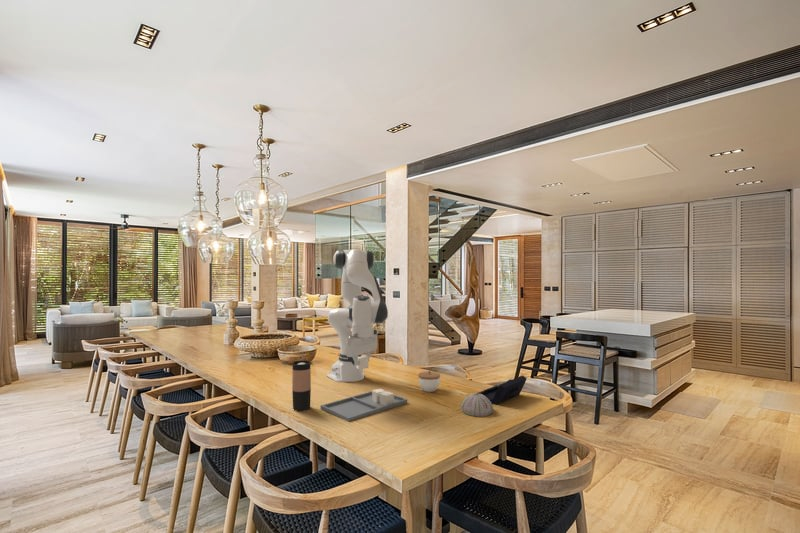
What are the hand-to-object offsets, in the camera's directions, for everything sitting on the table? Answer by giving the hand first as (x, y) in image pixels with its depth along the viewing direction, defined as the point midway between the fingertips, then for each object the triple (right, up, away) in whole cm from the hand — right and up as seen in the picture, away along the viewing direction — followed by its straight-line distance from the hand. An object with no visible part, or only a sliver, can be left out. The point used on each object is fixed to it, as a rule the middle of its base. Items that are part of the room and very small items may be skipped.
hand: (362, 363), depth 177 cm
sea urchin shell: (+49, -18, -12) cm, 53 cm away
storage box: (+63, -18, +6) cm, 66 cm away
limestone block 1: (0, -2, 0) cm, 2 cm away
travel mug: (-25, -18, -6) cm, 32 cm away
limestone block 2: (+7, -17, +1) cm, 18 cm away
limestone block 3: (+11, -17, -3) cm, 20 cm away
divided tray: (+2, -18, -4) cm, 19 cm away
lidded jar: (+31, -18, +20) cm, 41 cm away
